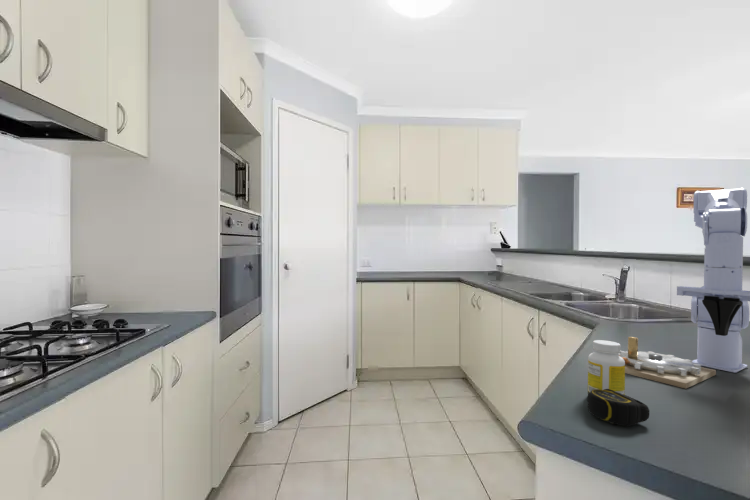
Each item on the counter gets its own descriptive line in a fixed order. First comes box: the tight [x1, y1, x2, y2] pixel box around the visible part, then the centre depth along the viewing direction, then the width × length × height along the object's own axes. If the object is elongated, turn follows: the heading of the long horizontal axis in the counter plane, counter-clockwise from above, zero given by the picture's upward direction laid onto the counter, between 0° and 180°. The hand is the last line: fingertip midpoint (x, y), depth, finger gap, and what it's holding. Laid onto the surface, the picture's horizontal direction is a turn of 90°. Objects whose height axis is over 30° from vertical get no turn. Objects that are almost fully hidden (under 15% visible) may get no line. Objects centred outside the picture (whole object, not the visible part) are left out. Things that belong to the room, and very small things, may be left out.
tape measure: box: [586, 389, 650, 426], centre depth 56 cm, size 7×7×4 cm
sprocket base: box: [625, 364, 717, 390], centre depth 82 cm, size 17×16×1 cm
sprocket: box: [619, 336, 702, 376], centre depth 82 cm, size 15×15×6 cm
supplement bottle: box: [587, 339, 626, 395], centre depth 64 cm, size 5×5×10 cm
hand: (721, 334), depth 76 cm, fingers closed
